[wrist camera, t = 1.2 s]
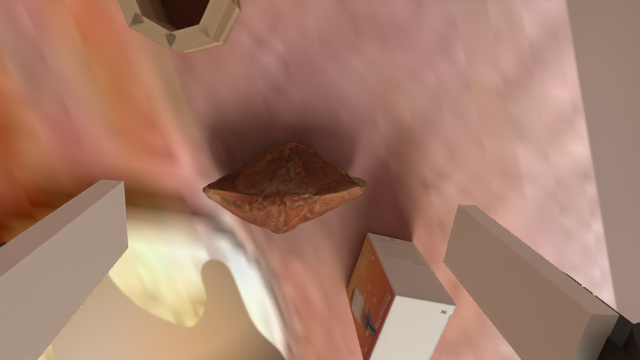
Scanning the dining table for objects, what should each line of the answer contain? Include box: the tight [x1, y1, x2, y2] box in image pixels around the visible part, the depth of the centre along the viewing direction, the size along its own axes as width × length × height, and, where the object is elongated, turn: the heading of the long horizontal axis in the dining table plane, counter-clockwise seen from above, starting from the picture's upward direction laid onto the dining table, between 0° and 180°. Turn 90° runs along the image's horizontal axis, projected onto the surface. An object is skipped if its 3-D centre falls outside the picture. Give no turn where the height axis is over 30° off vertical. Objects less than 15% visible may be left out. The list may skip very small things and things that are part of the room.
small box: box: [346, 233, 456, 360], centre depth 34 cm, size 8×6×10 cm
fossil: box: [203, 142, 367, 234], centre depth 31 cm, size 13×8×10 cm
